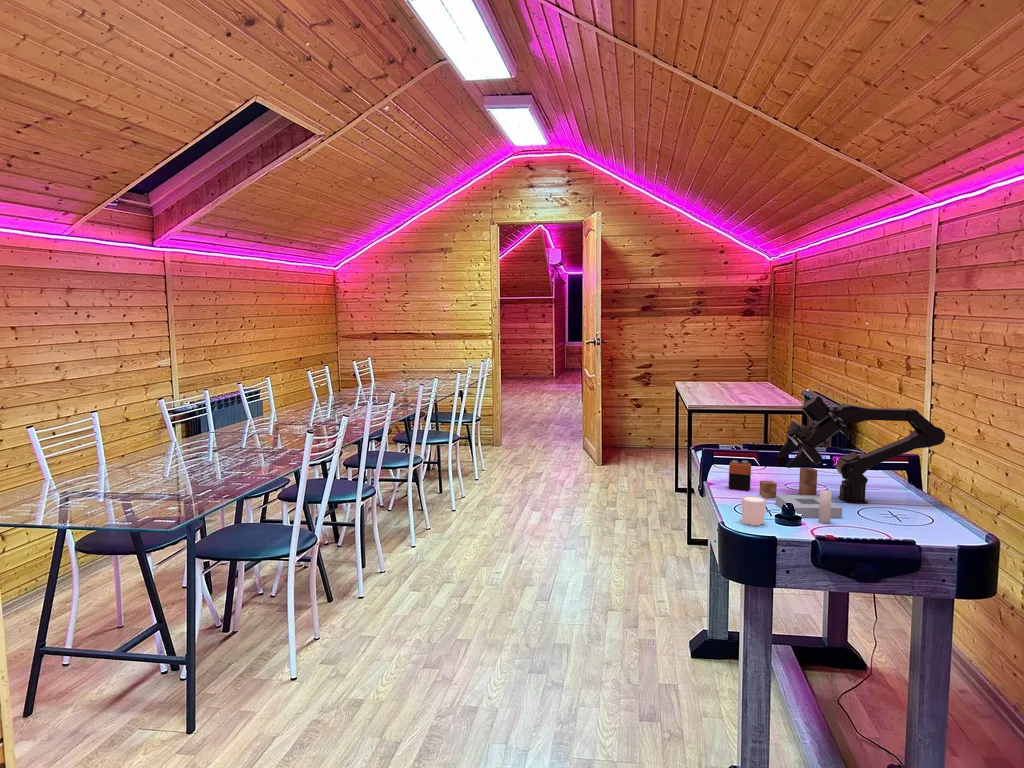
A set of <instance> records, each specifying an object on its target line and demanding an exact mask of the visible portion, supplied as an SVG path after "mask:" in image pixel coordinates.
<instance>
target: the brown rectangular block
mask: <svg viewBox="0 0 1024 768" xmlns="http://www.w3.org/2000/svg"><path fill="white" fill-rule="evenodd" d="M798 484H799V485H798V495H817V489H818V488H817V487H818V469H815V468H813V467H800V468H799V483H798Z"/></svg>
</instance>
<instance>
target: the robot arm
mask: <svg viewBox="0 0 1024 768" xmlns="http://www.w3.org/2000/svg"><path fill="white" fill-rule="evenodd" d="M800 409H801V411H802V412H803V413H804V414H805V415H806V416H807V417H808V418H809V419H810V421H812V422H817V423H816V424H815V425H814V426H813V425H808V426H806V425H805V424H801V423H799V422H797V421H796V420H792V421H791V422H790V424H789V425H788V427H787V431H786V432H785V433H786V434H785V443H784V444H783V446H782V447H781V449H780V450H779V452H778V453H777V454H776V456H777V457H778V458H782V457H785V456H787V455H789V454H792V453H795V452H798V453H797V454H796V455H795V456H794V457H793V458H792V459H791V460H790V461H789V462H788V463H787V464H786V465H785V466H786V468H787V469H790V468H797V467H799V466H801V467H802V466H806V465H807V466H808V465H815V464H816V465H819V464H820V463H821V462H822V461H823V456H822V455H821V454H820V453H819V452H818V450H817V448H818V447H819V446H821V445H822V444H823V445H827V444H828V441H827V440H828V439H830V438H831V437H833V436H835V434H837V433H839V432H841V434H843V435H844V436H845V435H847V433H848V432H847V428H848V426H847V425H846V424H855V423H862V422H866V421H882V422H883V421H886V422H888V421H892V422H907V423H908V424H909V425H910V427H912V428H913V430H912V431H911V432H910V433H909V434H908V435H907V436H905V437H902V438H899V439H898V440H895V441H893V442H890V443H888V444H885V445H883V446H881V447H878V448H876V449H873V450H871V451H868V452H866V453H863V454H857V452H855V451H852V452H850V453H848V454H846V455H841V456H840V459H838V460H837V461H836V464H835V470H836V471H837V473H839V474H840V475H841V478H842V480H841V484H840V486H839V495H838V498H839V499H840V500H842V501H844V502H846V503H848V504H849V503H850V504H851V503H853V504H859V503H860V504H861V503H863V504H867V503H869V502H868V500H866V485H867V483H868V481H869V478H868V477H867V476H866V475H865V474H864V473H866V472H867V471H868V470H869V469H870V468H872V467H874V466H876V465H878V464H881V463H883V462H886V461H889V460H890V459H894V458H896V457H898V456H901V455H904V454H906V453H908V452H911V451H913V450H918V449H926V448H931V447H936V446H940V445H942V444H944V442H945V440H946V432H945V431H944V430H943V429H942V428H941V427H938V426H935V425H934V424H933V423H932V422H930V421H929V420H928V419H927V418H926V417H924V416H923V415H922V414H921V413H920V412H919V411H918V410H917V409H914V408H911V407H907V408H889V407H884V408H883V407H865V406H861V405H855V404H851V403H840V404H839V405H838V406H828V405H827V404H826V403H825V402H824V400H823V399H822V397H821V396H819V395H816V396H814V397H812V398H811V399H809V400H806V402H804V403H803V404H802V405H800ZM829 414H830V415H831V416H830V415H829ZM832 416H833V417H836V418H832ZM841 422H844V423H846V424H844V425H843V424H842V423H841Z"/></svg>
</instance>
